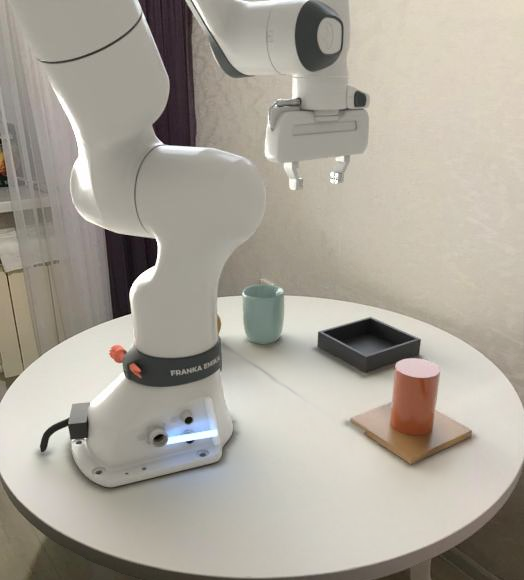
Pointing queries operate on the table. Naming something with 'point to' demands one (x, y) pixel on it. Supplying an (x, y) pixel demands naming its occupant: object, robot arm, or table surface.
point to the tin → (368, 344)
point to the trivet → (411, 445)
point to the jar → (414, 396)
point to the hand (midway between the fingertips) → (317, 186)
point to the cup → (263, 313)
